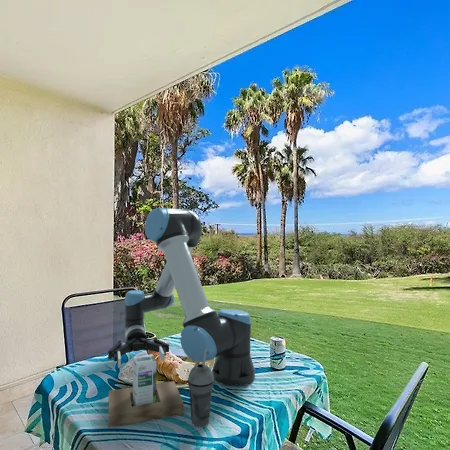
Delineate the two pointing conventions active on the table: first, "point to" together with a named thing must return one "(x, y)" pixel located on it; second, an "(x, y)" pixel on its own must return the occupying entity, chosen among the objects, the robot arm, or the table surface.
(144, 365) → the syrup box
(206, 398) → the beverage cup
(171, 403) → the walnut board
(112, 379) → the table surface
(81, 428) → the table surface
